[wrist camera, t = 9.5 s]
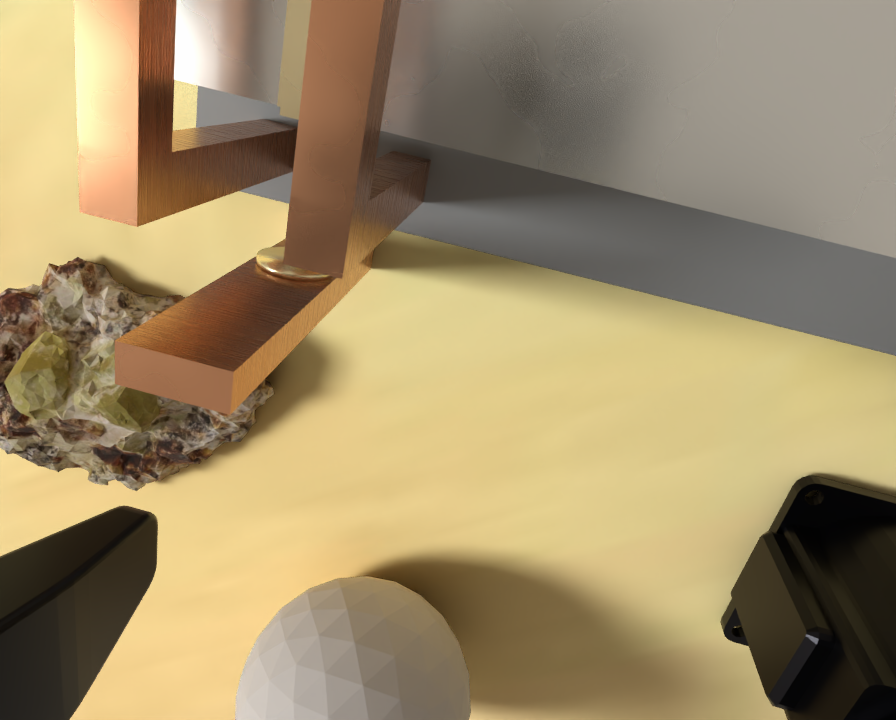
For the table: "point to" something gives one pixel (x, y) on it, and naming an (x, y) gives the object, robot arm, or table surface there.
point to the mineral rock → (96, 384)
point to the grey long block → (621, 95)
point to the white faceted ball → (355, 658)
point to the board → (627, 238)
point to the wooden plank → (230, 332)
